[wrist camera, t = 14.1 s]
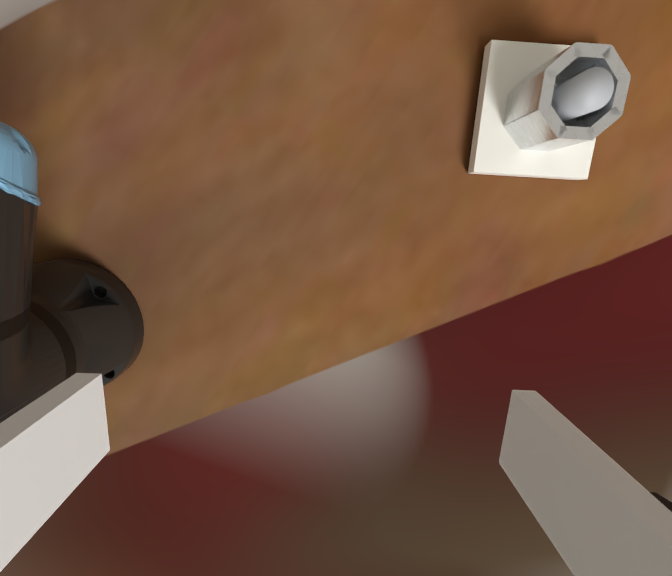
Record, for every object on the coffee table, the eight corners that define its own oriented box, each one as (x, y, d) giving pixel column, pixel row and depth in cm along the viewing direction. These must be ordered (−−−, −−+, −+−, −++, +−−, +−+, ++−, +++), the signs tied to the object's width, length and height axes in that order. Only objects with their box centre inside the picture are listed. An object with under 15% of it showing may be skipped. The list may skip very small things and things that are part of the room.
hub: (499, 148, 35) (533, 136, 29) (511, 69, 34) (550, 40, 28) (568, 152, 36) (616, 141, 30) (584, 74, 34) (637, 46, 28)
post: (467, 173, 37) (507, 163, 29) (484, 46, 34) (534, -4, 26) (577, 179, 38) (647, 172, 29) (602, 55, 35) (687, 8, 27)
